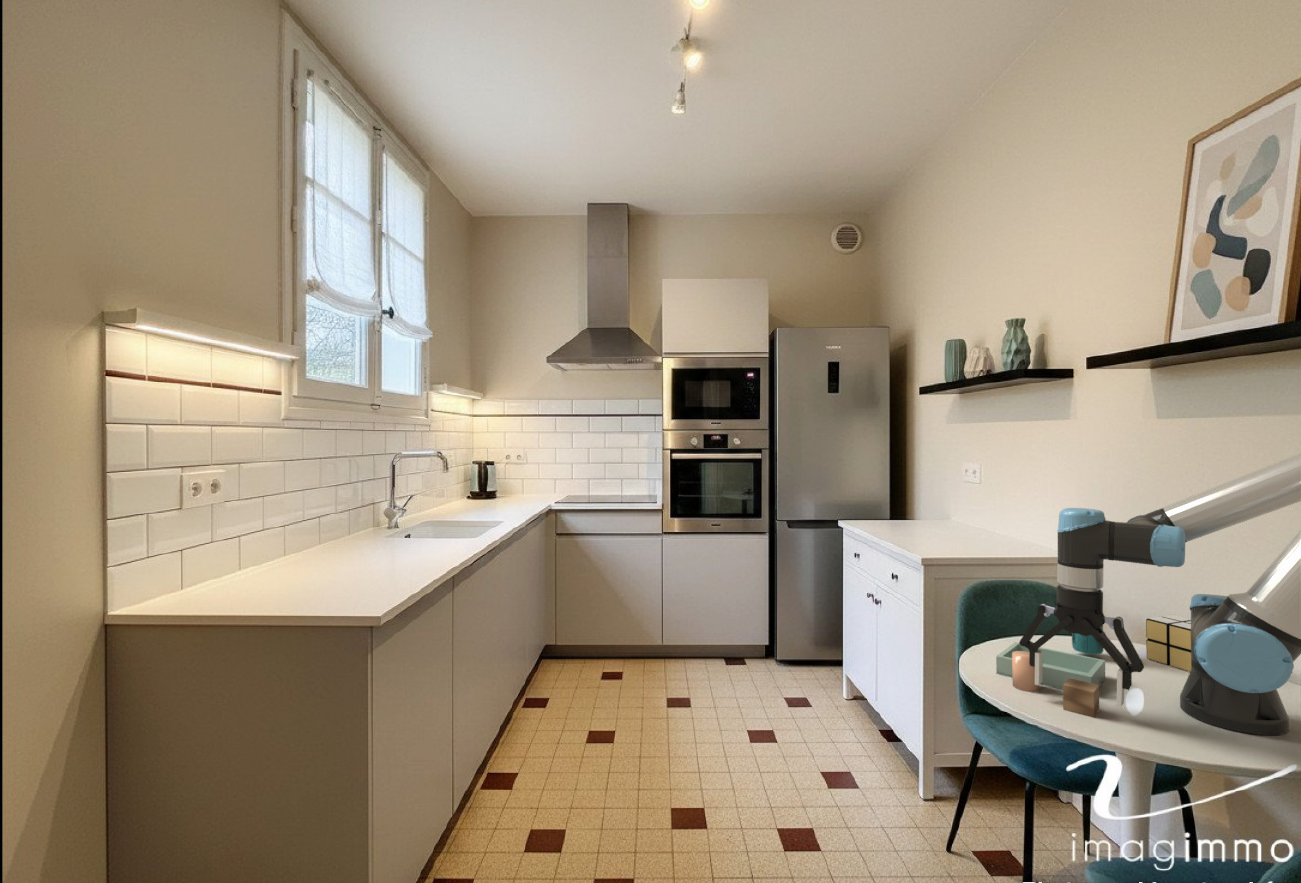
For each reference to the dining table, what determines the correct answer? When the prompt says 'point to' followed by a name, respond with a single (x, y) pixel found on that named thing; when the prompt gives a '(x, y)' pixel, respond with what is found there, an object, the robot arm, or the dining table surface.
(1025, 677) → the peach rounded smooth part
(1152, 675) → the dining table surface
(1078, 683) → the walnut cube
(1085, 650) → the beverage bottle
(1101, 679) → the tray
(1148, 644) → the puzzle cube
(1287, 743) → the dining table surface
